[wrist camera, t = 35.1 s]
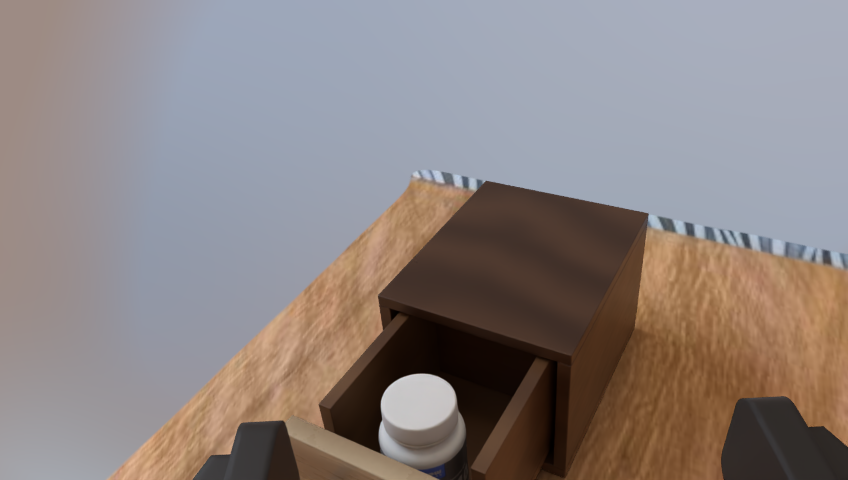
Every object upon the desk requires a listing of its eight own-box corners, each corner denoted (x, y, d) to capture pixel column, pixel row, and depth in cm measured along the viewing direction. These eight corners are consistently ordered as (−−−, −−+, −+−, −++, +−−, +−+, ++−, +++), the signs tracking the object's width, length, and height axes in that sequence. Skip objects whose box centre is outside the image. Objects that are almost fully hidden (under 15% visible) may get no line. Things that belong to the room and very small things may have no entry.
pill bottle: (417, 551, 37) (402, 452, 32) (375, 491, 40) (356, 393, 36) (486, 506, 39) (481, 407, 34) (441, 452, 42) (431, 354, 38)
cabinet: (564, 478, 42) (571, 356, 36) (395, 411, 48) (377, 295, 42) (634, 326, 53) (648, 213, 47) (489, 286, 59) (485, 180, 53)
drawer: (434, 720, 31) (417, 624, 26) (250, 604, 36) (207, 506, 31) (577, 421, 45) (584, 321, 40) (428, 368, 50) (418, 274, 45)
